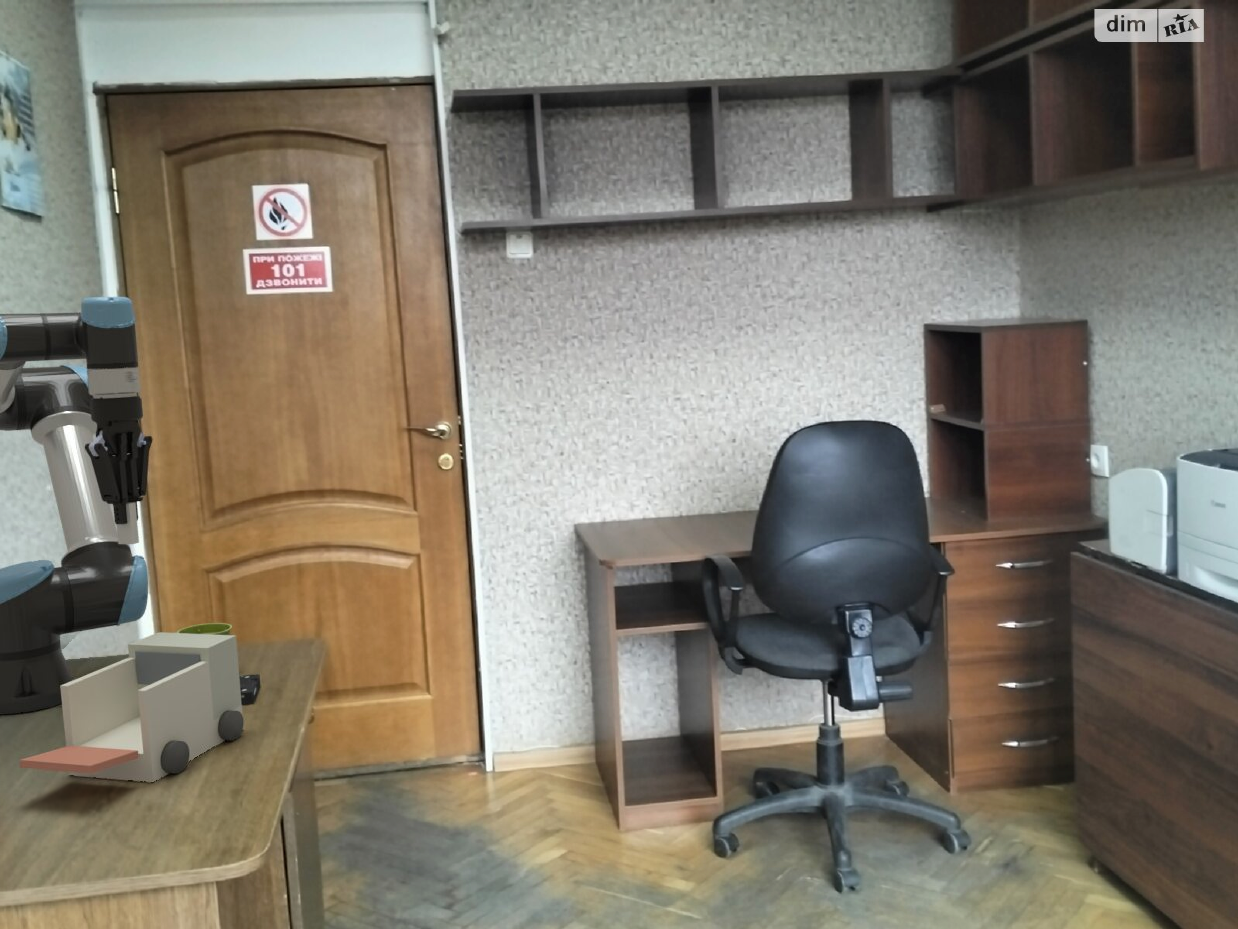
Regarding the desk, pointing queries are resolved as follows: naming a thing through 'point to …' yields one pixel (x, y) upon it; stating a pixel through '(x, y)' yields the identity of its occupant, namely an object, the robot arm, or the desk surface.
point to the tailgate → (79, 759)
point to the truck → (158, 704)
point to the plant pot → (208, 629)
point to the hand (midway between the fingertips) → (128, 543)
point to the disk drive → (249, 688)
